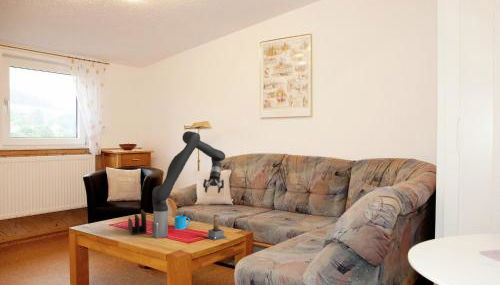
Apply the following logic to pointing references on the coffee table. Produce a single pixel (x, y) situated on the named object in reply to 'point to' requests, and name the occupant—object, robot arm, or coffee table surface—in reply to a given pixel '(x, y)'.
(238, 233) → the coffee table surface
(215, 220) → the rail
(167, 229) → the robot arm
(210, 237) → the grey square block
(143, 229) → the letter holder
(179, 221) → the mug
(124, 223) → the coffee table surface
